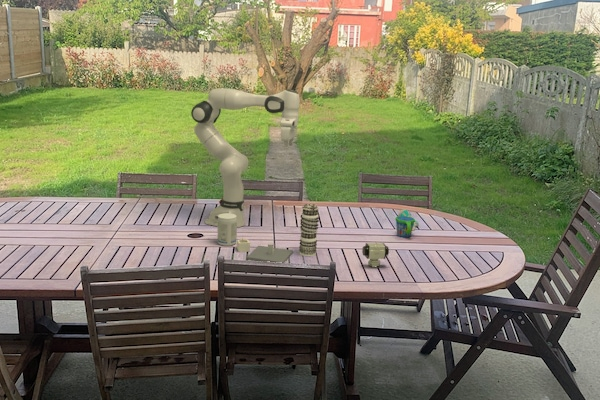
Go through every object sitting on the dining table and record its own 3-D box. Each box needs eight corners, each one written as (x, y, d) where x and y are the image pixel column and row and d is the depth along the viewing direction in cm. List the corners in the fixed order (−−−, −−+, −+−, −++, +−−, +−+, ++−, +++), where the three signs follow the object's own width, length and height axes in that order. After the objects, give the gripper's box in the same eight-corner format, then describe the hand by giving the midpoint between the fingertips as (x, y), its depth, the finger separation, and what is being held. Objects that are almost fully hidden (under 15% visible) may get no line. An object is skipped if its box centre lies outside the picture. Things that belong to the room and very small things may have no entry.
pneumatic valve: (360, 264, 289) (363, 240, 286) (384, 264, 291) (386, 240, 288) (363, 268, 284) (366, 244, 281) (387, 268, 286) (390, 244, 283)
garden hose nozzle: (413, 225, 345) (429, 215, 359) (386, 216, 355) (404, 206, 369) (411, 236, 348) (427, 226, 362) (385, 227, 357) (402, 217, 372)
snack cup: (391, 231, 344) (393, 213, 342) (409, 231, 345) (411, 214, 342) (396, 239, 329) (398, 222, 327) (415, 240, 330) (417, 222, 327)
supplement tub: (232, 239, 314) (233, 212, 310) (238, 245, 306) (239, 217, 302) (214, 241, 310) (215, 213, 306) (220, 247, 301) (221, 219, 298)
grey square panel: (246, 259, 287) (247, 247, 285) (258, 247, 304) (258, 236, 302) (282, 264, 283) (283, 252, 281) (292, 252, 300) (293, 240, 298)
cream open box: (238, 252, 296) (238, 242, 295) (236, 247, 302) (236, 238, 301) (249, 251, 298) (250, 242, 296) (247, 247, 303) (247, 238, 302)
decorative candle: (310, 258, 294) (314, 208, 287) (294, 253, 298) (297, 205, 292) (320, 253, 301) (323, 204, 295) (304, 249, 306) (307, 201, 300)
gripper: (288, 118, 327) (287, 143, 330) (279, 122, 307) (277, 149, 311) (300, 119, 326) (298, 144, 329) (291, 123, 306) (289, 150, 310)
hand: (288, 147), depth 320 cm, fingers open, 8 cm apart
